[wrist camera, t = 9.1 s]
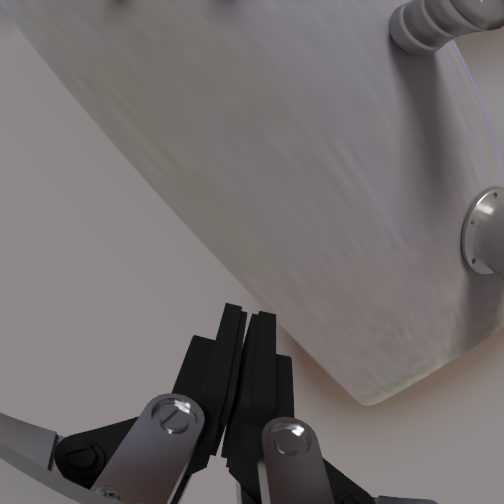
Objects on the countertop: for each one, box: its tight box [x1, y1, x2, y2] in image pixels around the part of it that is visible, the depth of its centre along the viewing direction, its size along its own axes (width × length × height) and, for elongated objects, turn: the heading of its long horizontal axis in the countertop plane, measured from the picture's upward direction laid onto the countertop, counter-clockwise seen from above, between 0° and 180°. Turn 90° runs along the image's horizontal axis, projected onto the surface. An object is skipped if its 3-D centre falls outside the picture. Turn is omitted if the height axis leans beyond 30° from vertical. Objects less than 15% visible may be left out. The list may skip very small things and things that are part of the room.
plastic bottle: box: [389, 0, 504, 56], centre depth 15 cm, size 6×7×20 cm
